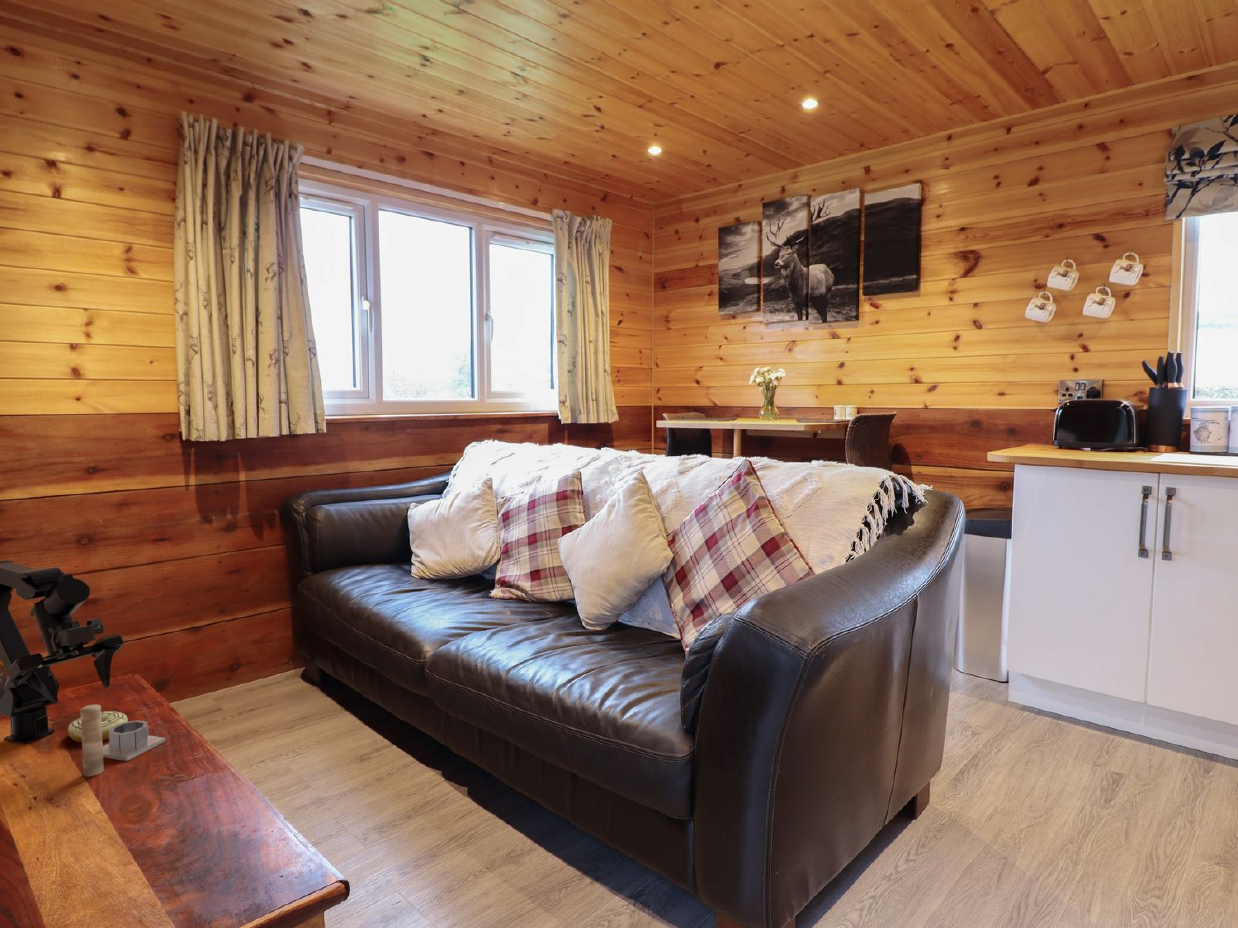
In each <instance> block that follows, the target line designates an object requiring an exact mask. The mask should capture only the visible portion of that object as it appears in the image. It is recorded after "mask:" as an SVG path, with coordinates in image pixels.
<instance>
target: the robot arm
mask: <svg viewBox="0 0 1238 928" xmlns="http://www.w3.org/2000/svg"><path fill="white" fill-rule="evenodd" d="M14 589H15V591H16V592H15V593H16V595H17V596H18V597H20V598H22V599H23V600H25V601H31V600H35V599H36V600H37V599H40V598H42V599H40V600H39V601H36V602H34V603H33V607H32V608H31V610H30V616H31V617H34V618H35V621H36V623H37V627H38V629H39V631H40V636H41V637H40V638H39V640H40V643H41V644H44V646H45V649H46V652H47V656H43V654H41V653H40V652H37V653H34V654H31V652H30V650H29V648H28V646H27V644H26V642H25V640H24V637H23V636H22V633H21V632H20V629H19V628H18V626H17V624H16V622H15V619H14V618H13V615H12V613H11V611H10V609H9V606H10V604H11V601H12V597H13V594H12V593H13V591H14ZM90 594H91V589H90V586H89V585H88V584H87V583H85V582H84V581H83V580H82V579H78V578H74V575H73V574H72V573H68V574H66V573H65V572H63V571H62V570H61V568H59V567H57V566H56V567H55V566H54V567H43V568H31V567H29V566H25V565H21V564H19V563H14V562H13V561H11V560H7V559H6V560H5V559H4V560H0V660H1V663H2V665H3V667H4V669H5V671H6V673H7V677H6V680H5V683H4V687H3V691H4V693H3V694H2V696H1V697H0V715H3V716H6V717H8V718H10V735H9V734H8V735H7V736H5V737H3V741H5V742H12V743H19V744H23V745H25V744H28V743H31V742H33V741H37V740H38V739H40V738H43V737H45V736H48V735H50V734H52V733H55V732H56V729H55V728H53V727H49V716H48V708H47V706H51V705H56V704H57V703H59V699H58V695H59V687H60V685H59V683H60V682H59V681H58V679H57V677H55V674H54V673H53V672H52V670H51V667H50V666H54V665H57V664H62V663H66V662H69V661H73V660H76V659H81V658H84V657H88V656H92V657H93V658H95V659H94V660H93V661H92V663H93V666H94V667H95V668H94V669H95V670H96V672H97V675H98V677H99V679H100V682H101V684H102V686H103V687H104V688H105V689H108V688H109V687H110V680H111V667H112V660H113V658H114V655H116V654H117V653H118V652H119V651H120V649H122V648H123V647H124V646H125V645H126V643H125V640H124V637H123V636H121V635H120V634H118V633H115V634H110V635H107V636H103V637H99V638H98V639H97V640H96V635H101V634H103V633H104V631H105V629H104V623H103V622H102V619H101V618H100V617H98V618H92V619H88V620H86V625H82V626H81V624H80V622H79V621H78V620H76V621H75V619H74V617H73V614H74V613H75V612H76V611H77V609H79V607H81V605H83V603H85V602H86V601H87V599H89V597H90ZM92 641H95V642H94V643H93V644H91V645H88V644H89V643H90V642H92Z"/></svg>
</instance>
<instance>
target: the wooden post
mask: <svg viewBox="0 0 1238 928" xmlns="http://www.w3.org/2000/svg"><path fill="white" fill-rule="evenodd" d="M101 712H102V707H101V705H100V704H89V705H86V706H83V707H81V708H80V711H79V713H80V718H81V733H82V742H81V752H82V769H83V771H82V772H83V774H82V775H83V776H84V777H86V778H87V777H88V778H89V777H90V776H91V777H95V776H98V775H100V774H102V773H103V772H104V768H105V767H104V757H103V746H104V745H103V741H102V722H101ZM94 775H95V776H94Z"/></svg>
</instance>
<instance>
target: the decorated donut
mask: <svg viewBox="0 0 1238 928" xmlns="http://www.w3.org/2000/svg"><path fill="white" fill-rule="evenodd" d="M101 722H102V742H103V741H109V730H110V728H112V727H114V726H116V725H118V724H121V723H124V722H129V719H128V716H127V715H126V714H124V712H119V711H113V710H112V711H111V710H110V711H109V710H108V711H101ZM67 727H68V728H67V733H68V736H69V738H70V739H71V740H72V741H74V742H77V743H82V733H81V717H79V718H77V719H75V720H73V721H71V722H70V723H69V725H68V726H67Z"/></svg>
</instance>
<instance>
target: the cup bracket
mask: <svg viewBox="0 0 1238 928" xmlns="http://www.w3.org/2000/svg"><path fill="white" fill-rule="evenodd" d="M108 742H109V743H107V744H105V745H103V758H105V759H113V760H118V761H123V762H124V761H125V762H127V761H129V760H132V759H134V758H136V757H138V756H140V755H142V754H144V753H145V752H147V751H150V750H153V748H156V747H158V746H160V745H161V744H163V743H165V742H166V737H161V736H156V735H149V722H148V721H146V720H145V721H144V720H137V719H135V720H131V721H128V722H124V723H121V724H118V725H116V726H114V727H112V728H110V730H109V739H108Z"/></svg>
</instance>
